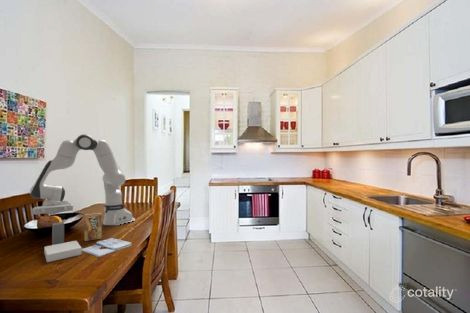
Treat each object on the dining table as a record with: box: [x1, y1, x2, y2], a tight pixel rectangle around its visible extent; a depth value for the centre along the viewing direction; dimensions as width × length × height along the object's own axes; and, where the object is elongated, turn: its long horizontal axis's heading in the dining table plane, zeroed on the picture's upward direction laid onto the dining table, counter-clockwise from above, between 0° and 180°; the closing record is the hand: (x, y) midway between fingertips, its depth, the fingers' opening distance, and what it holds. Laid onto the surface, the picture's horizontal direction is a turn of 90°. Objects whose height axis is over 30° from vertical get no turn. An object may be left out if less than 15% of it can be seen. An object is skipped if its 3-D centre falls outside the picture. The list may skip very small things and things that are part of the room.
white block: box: [43, 240, 82, 263], centre depth 125 cm, size 14×14×4 cm
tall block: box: [51, 221, 65, 245], centre depth 138 cm, size 5×5×12 cm
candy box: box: [84, 212, 103, 242], centre depth 147 cm, size 9×4×15 cm, turn 119°
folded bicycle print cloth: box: [81, 237, 133, 258], centre depth 134 cm, size 19×20×2 cm
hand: (55, 211), depth 147 cm, fingers open, 8 cm apart
